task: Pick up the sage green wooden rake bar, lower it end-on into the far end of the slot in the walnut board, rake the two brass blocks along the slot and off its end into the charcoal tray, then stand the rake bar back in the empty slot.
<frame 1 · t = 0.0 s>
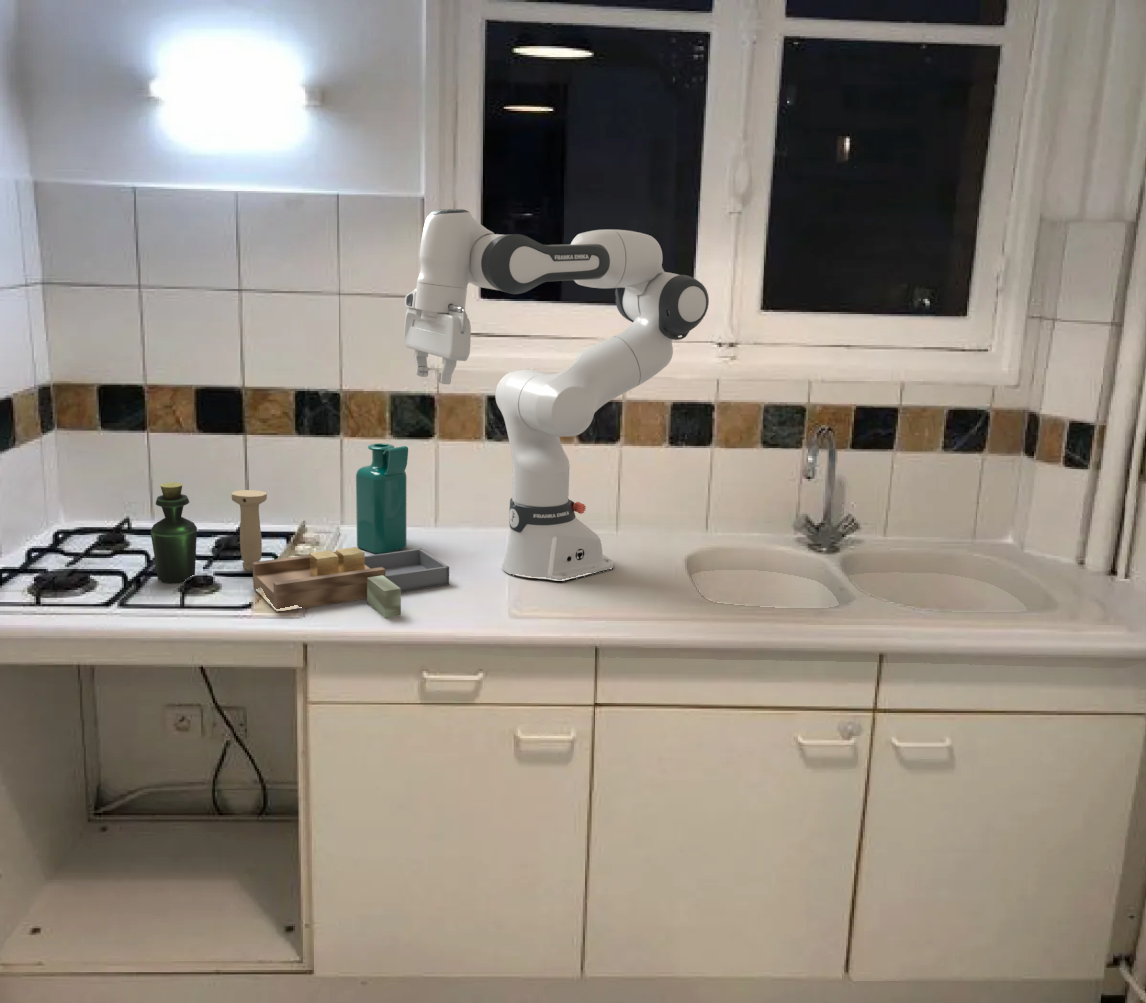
hand: (432, 380, 195), 39 cm above the countertop, tool pointing down, fingers open, 8 cm apart
pitcher: (383, 548, 226), on the countertop
slot board: (319, 591, 199), on the countertop
handle: (251, 569, 210), on the countertop
brass block b: (324, 575, 198), point 3 cm above the countertop, touching slot board
potion bottle: (176, 579, 203), on the countertop
brass block a: (350, 571, 201), point 3 cm above the countertop, touching slot board
rake bar: (383, 610, 191), on the countertop
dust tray: (403, 579, 207), on the countertop
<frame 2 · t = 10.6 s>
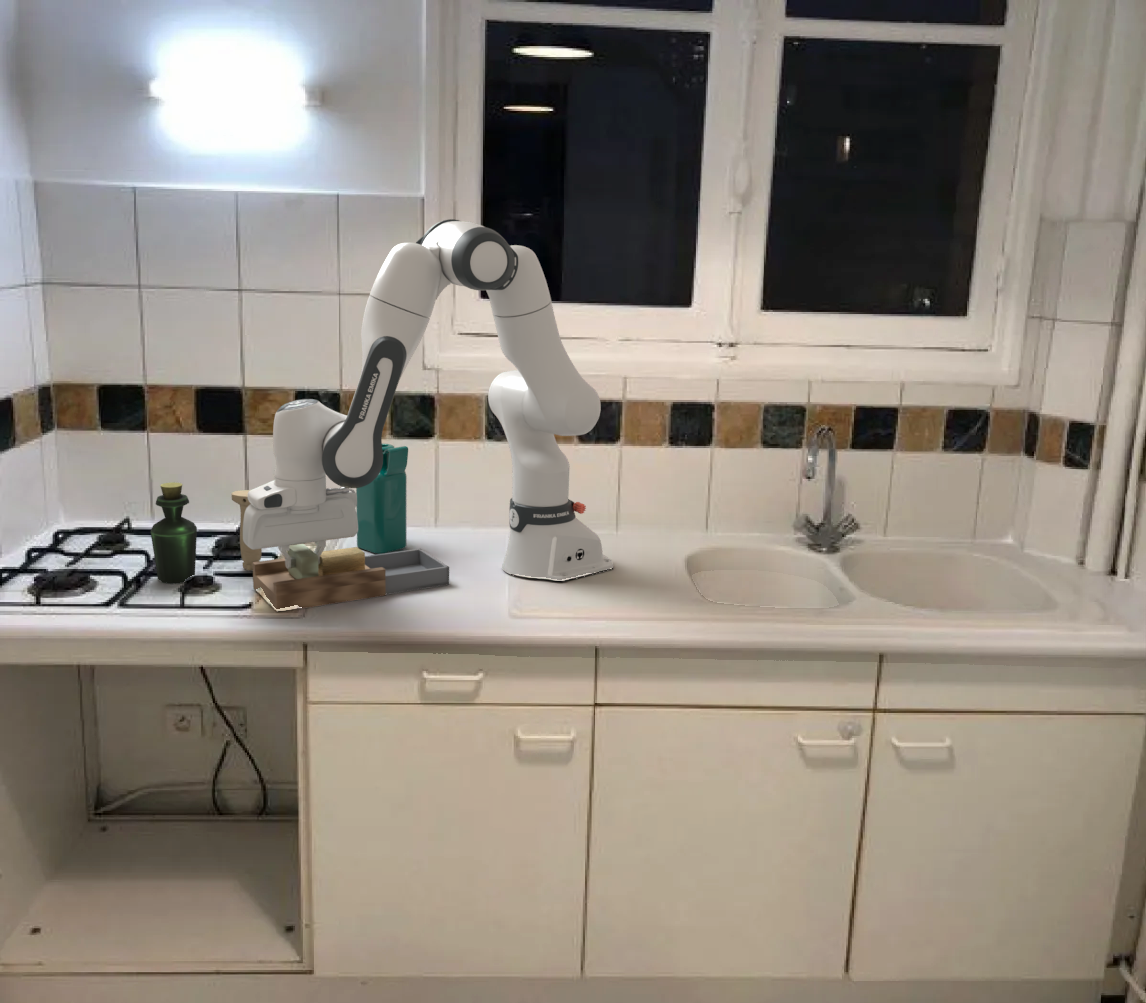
hand: (302, 565, 196), 5 cm above the countertop, tool pointing down, fingers closed on rake bar, 3 cm apart
brass block b: (329, 574, 199), point 3 cm above the countertop, touching brass block a, gripper, slot board
brass block a: (350, 571, 201), point 3 cm above the countertop, touching brass block b
rake bar: (303, 577, 196), point 3 cm above the countertop, touching gripper
everything else where it was.
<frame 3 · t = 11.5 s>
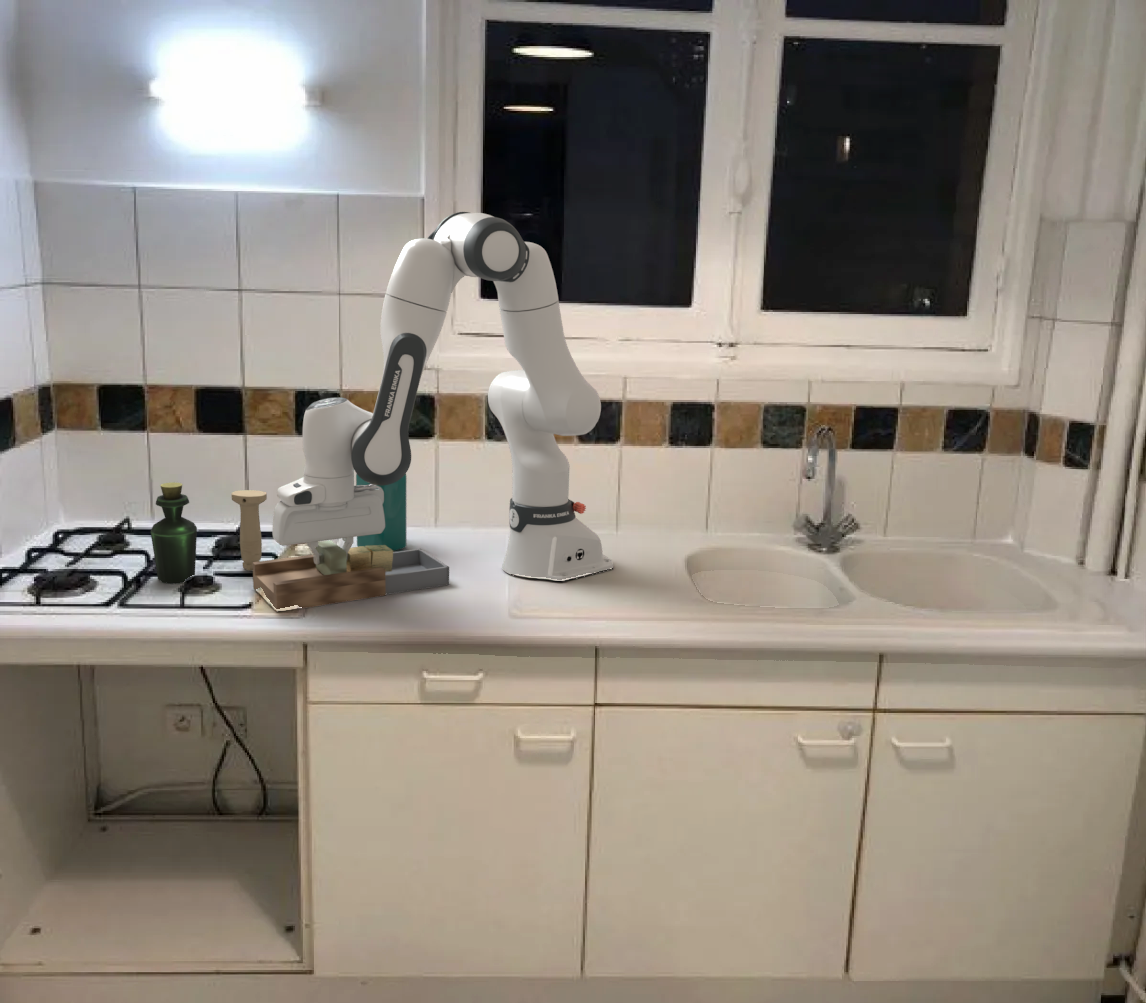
hand: (330, 561, 199), 5 cm above the countertop, tool pointing down, fingers closed on rake bar, 3 cm apart
brass block b: (357, 570, 202), point 3 cm above the countertop, touching brass block a, gripper
brass block a: (377, 568, 204), point 3 cm above the countertop, tilted 5°, touching brass block b
rake bar: (331, 573, 199), point 3 cm above the countertop, touching gripper
everything else where it was.
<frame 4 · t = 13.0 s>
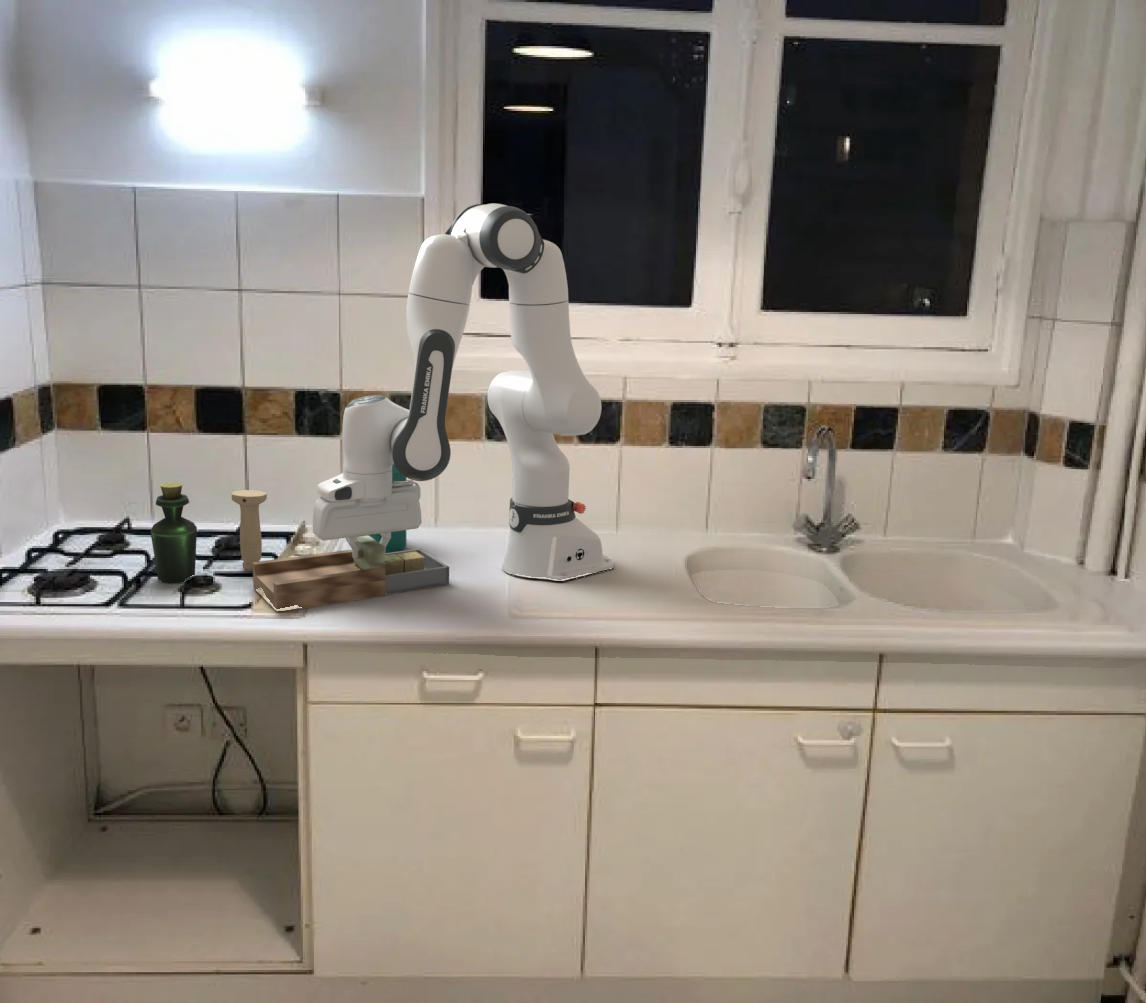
hand: (368, 556, 202), 5 cm above the countertop, tool pointing down, fingers closed on rake bar, 3 cm apart
brass block b: (389, 578, 206), point 1 cm above the countertop, touching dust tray
brass block a: (400, 567, 206), point 3 cm above the countertop, tilted 90°, touching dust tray
rake bar: (369, 567, 203), point 3 cm above the countertop, touching gripper
everything else where it was.
when the fingers open (7 cm above the countertop, at t = 19.1 s): rake bar drops 1 cm, resting on slot board.
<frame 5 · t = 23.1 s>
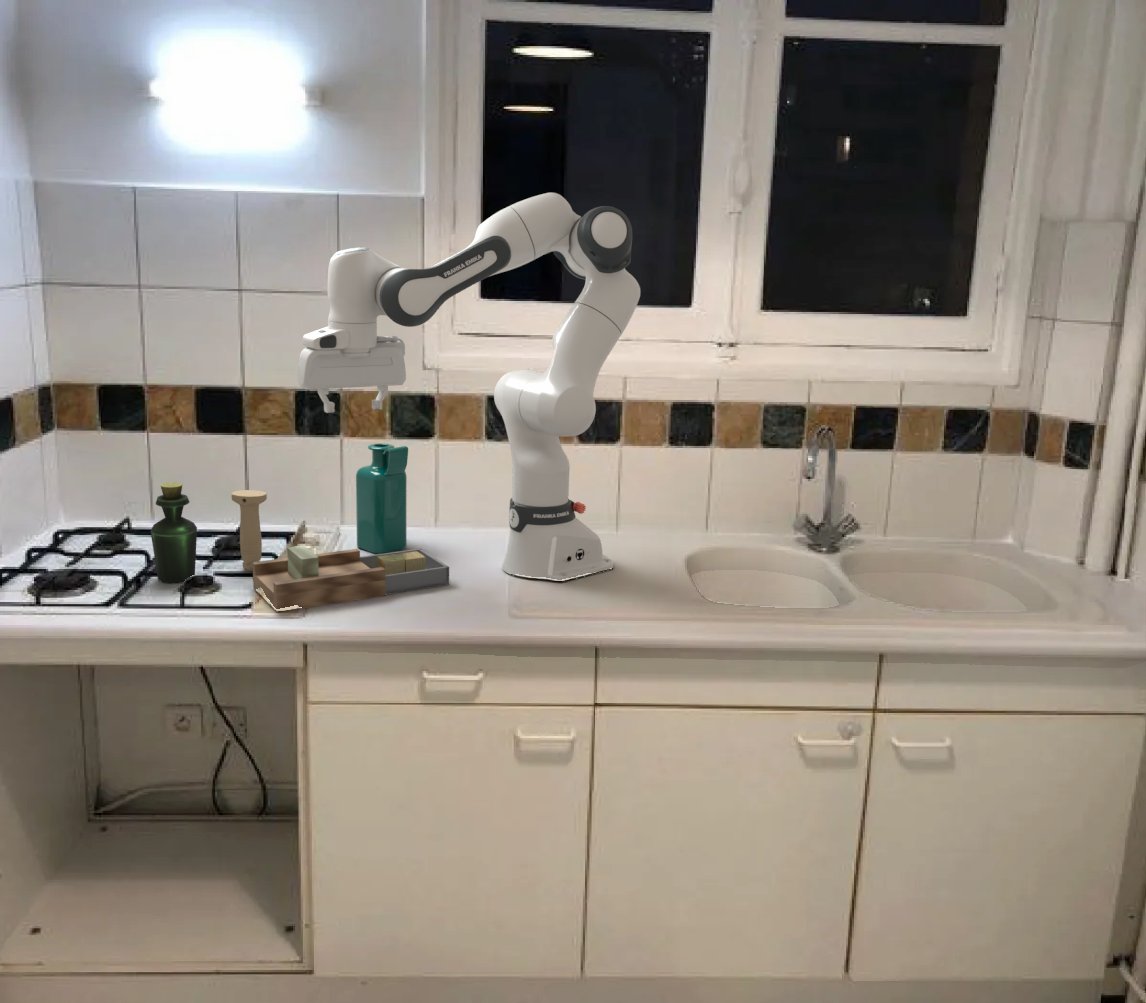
hand: (353, 410, 205), 31 cm above the countertop, tool pointing down, fingers open, 8 cm apart
rake bar: (303, 578, 196), point 3 cm above the countertop, touching slot board
everything else where it was.
at the end: brass block a inside the target area on the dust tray (0.3 cm from its centre), point 2.6 cm above the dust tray's base; brass block b inside the target area on the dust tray (2.4 cm from its centre), point 0.6 cm above the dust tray's base; rake bar tilted 0° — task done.
